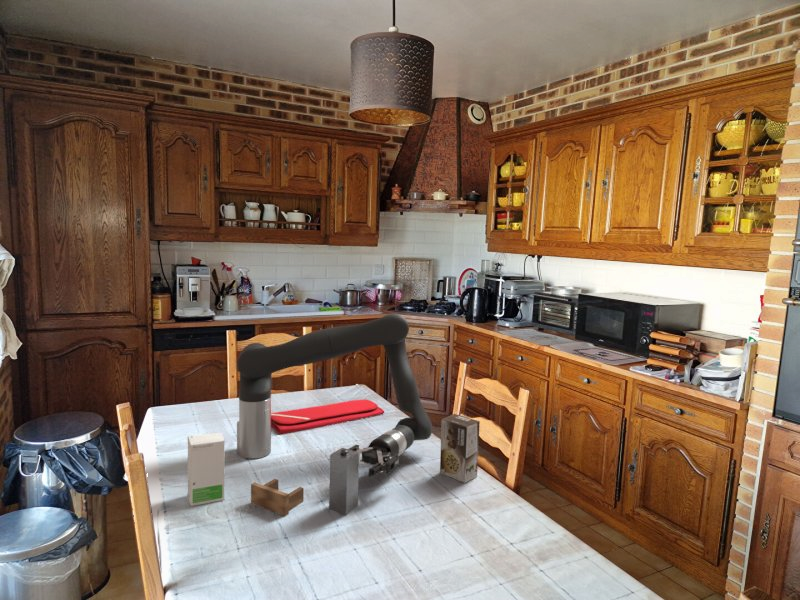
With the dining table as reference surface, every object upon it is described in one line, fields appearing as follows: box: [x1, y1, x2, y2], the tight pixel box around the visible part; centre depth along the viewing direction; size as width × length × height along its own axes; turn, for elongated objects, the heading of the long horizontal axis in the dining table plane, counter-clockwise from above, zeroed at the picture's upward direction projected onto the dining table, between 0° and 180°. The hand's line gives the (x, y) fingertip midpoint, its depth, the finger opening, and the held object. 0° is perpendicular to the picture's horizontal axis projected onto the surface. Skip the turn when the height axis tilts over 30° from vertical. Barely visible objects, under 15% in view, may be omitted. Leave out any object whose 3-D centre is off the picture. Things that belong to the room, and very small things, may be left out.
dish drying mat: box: [271, 399, 385, 435], centre depth 188 cm, size 16×41×4 cm, turn 124°
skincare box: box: [186, 432, 226, 507], centre depth 129 cm, size 8×7×16 cm
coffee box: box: [439, 413, 481, 483], centre depth 145 cm, size 9×6×16 cm
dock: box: [250, 478, 305, 517], centre depth 128 cm, size 11×8×5 cm
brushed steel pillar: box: [328, 447, 360, 516], centre depth 126 cm, size 5×5×15 cm
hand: (355, 468), depth 130 cm, fingers open, 8 cm apart
